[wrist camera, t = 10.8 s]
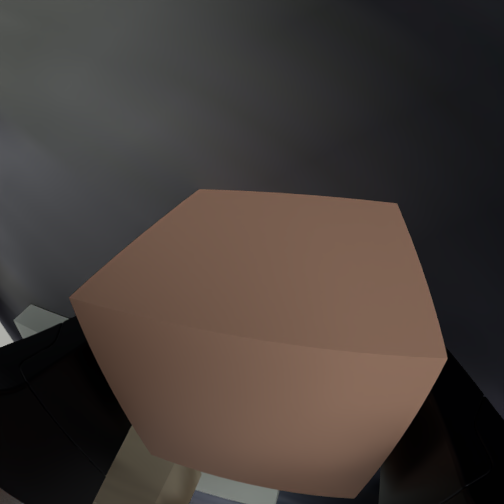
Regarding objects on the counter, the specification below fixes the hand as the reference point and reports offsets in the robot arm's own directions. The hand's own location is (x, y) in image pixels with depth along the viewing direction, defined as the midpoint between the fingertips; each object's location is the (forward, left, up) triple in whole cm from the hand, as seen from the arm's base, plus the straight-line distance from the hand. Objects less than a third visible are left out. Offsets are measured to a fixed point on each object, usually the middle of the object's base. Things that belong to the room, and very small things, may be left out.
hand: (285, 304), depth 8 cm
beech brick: (-11, +6, 0) cm, 13 cm away
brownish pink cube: (0, 0, -1) cm, 1 cm away
